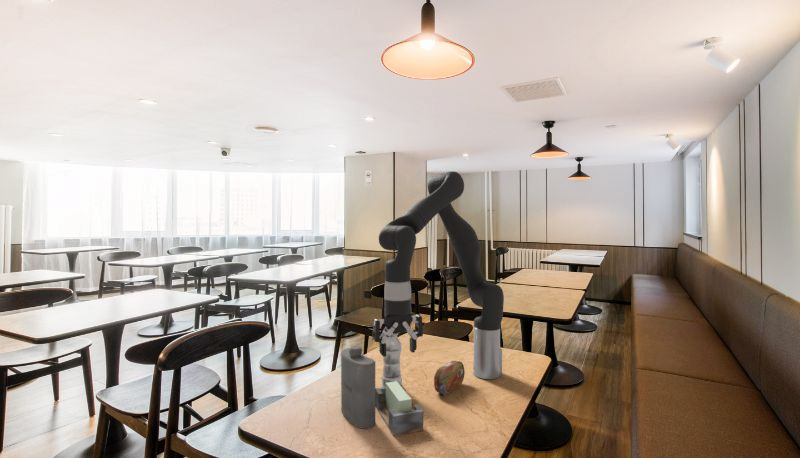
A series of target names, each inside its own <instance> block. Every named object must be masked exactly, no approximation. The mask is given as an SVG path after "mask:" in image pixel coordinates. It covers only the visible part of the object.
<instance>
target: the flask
mask: <svg viewBox="0 0 800 458" xmlns="http://www.w3.org/2000/svg"><path fill="white" fill-rule="evenodd" d="M362 353H363V348H362V347H361V346H358V345H354V346H351V347H349V348H344V349H342V350H341V351H340V364H341V366H340V369H341V371H340V374H341V375H340V379H341V381H340V382H341V383H340V387H341V388H340V392H341V393H340V396H341V397H340V398H341V399H340V400H341V401H340V403H341V407H340V408H341V409H340V410H341V413H342V415H343V416H344V418H345V419H346V420H347V421H348V422H349V423H351V424H352V425H354V426H355V427H357V428H359V429H362V430H370V429H371V428H373V427H375V426H376V406H375V388H376V361H375V360H374V359H373V358H370V357H368V356H366V355H364V354H362Z"/></svg>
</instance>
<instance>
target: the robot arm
mask: <svg viewBox="0 0 800 458" xmlns="http://www.w3.org/2000/svg"><path fill="white" fill-rule="evenodd" d="M427 191H428V195H427V196H424V197H423V198H422V199H420V200H418V201H417V202H415V203H414V204H413V205H412V206H411V207H409V209H408V210H407V211H406V212H405V213H403V215H400V216H399V217H397V218H395V219H393V220H391V221H390V222H388V223H386V224H385V225H384V226H383V227H382V228H381V230H380V232H379V235H378V243H379V245H380V247H381V248H382V249H384V250H386V251H394V252H395V251H396V252H397V253H396V256H395V258H391V259H388V260H387V261H385V264H384V273H385V274H384V275H385V276H384V290H383V291H384V293H383V294H384V295H383V296H384V301H383V302H384V316H383V318H382V319H381V318H380V319H378V318H377V317H376V318H374V319H373V321H372V322H373V323H372V340H374V342H376V343H379V346H378V347H379V350H378V351H379V353H380V355H381V356H382V358H383V357H386V343H385V342H386V340H387V339H388V338H389V337H390V336H391V334H392V333H393V334H397V333H398V334H403V333H405V332H406V333H407V334H408V335H409V351H410V353H411V354H412V353H415V352H416V351H417V347H418V345H417V343H418V342H417V340H418V338H421V337H422V338H423V335H424V331H423V330H424V329H423V316H421V315H420V314H418V313H416V314H415V315H412V286H411V264H412V260H413V255H414V251H415V248H416V244H417V235H418V234H419V233H420V232H421V231H423V229H424V228H425V227H426V226H427V225H428V224H429V223H430V221H431V220H432V219H433V218H434V217H435V216H437V214H438V216H439V217H440V219H441V222H442V223H443V227H444V228H445V231H446V233H447V235H448V238H449V242H450V244H451V246H452V248H453V252H454V255H455V256H456V258H457V261H458V264H459V267H460V269H461V271H462V274H463V277H464V280H465V284H466V289H467V292H468V296H469V298H470V300H471V302H472V303H473V304H474V305H476V306H478V307H480V308H482V309H481V315H480V316H476V317H474V319H473V375H474V376H475V377H476V378H479V379H484V380H496V379H498V378H500V377H501V376H503V349H502V348H501V324H502V321H503V318H504V315H503V314H504V302H505V301H504V300H505V299H504V298H505V297H504V291H503V289H502V287H501V286H500V285H499V284H496V283H492V282H488V281H487V280H485V277H484V276H483V273H482V269H481V263H480V262H481V257H482V256H481V255H482V247H481V243H480V240H479V238H478V236H477V233H476V230H475V229H474V227H472V225H471V224H470V223H468V222H467V220H465V219H464V218H463V217H462V216H461V215H460V214H459V213H457V211H456V210H455V208H454V207H453V205H452V202H454V201H455V200H458V199H459V198H460V197H461V196H462V195H463V193H464V191H465V180H464V179H463V177H462V175H461V174H460V173H459V172H457V171H447V172H442V173H440V174H437V175H434V176H431V177H429V178H428V180H427ZM412 322H413V323H414V324H415V332H414V330H413V329H412V328H411V327H410V326H411V324H412ZM382 325H384V326H385V327H384V328H383V330H382V333H381V334H380V331H381V330H380V329H381V328H382Z"/></svg>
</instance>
